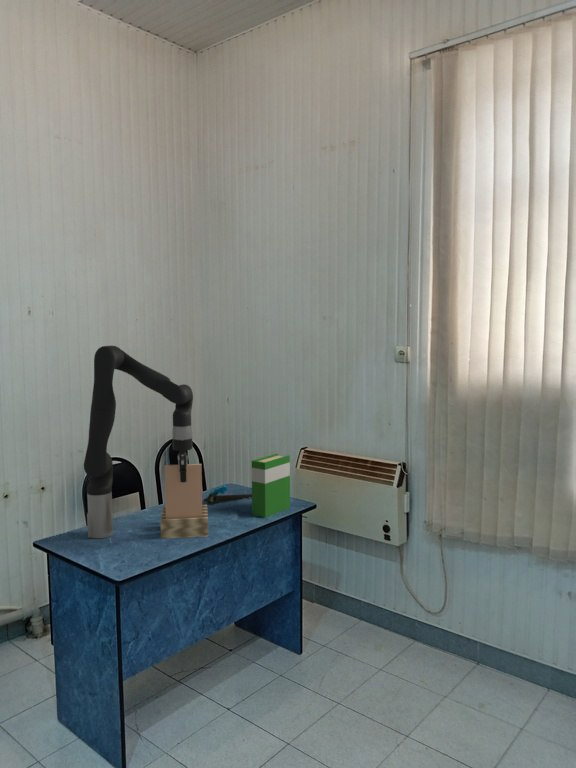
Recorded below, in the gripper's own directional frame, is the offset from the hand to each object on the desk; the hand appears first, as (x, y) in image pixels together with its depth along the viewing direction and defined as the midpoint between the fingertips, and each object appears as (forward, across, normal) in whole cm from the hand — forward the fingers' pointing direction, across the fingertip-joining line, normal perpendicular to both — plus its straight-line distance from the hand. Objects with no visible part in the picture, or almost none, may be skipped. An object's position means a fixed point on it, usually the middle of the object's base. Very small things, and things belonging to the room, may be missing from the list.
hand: (183, 481), depth 246 cm
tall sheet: (+16, 0, 0) cm, 16 cm away
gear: (+23, -50, +14) cm, 57 cm away
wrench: (+23, -47, +22) cm, 57 cm away
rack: (+23, -6, 0) cm, 24 cm away
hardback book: (+23, -29, +37) cm, 53 cm away
